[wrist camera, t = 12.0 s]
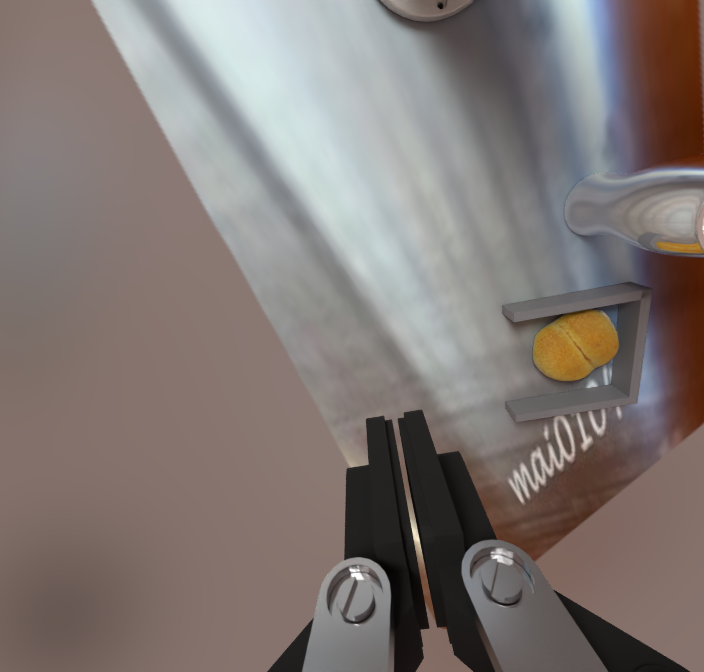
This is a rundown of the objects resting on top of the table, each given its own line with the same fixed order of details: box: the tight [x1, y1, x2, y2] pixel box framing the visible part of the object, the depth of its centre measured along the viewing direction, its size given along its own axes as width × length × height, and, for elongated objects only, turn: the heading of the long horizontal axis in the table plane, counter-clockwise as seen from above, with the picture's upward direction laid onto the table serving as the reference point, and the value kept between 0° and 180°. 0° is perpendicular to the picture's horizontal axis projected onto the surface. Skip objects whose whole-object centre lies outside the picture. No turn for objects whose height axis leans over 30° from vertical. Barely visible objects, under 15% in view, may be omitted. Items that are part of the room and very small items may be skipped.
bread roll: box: [533, 309, 619, 381], centre depth 39 cm, size 8×9×4 cm
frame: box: [502, 282, 653, 422], centre depth 39 cm, size 14×14×3 cm
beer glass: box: [564, 153, 704, 259], centre depth 28 cm, size 7×7×15 cm
